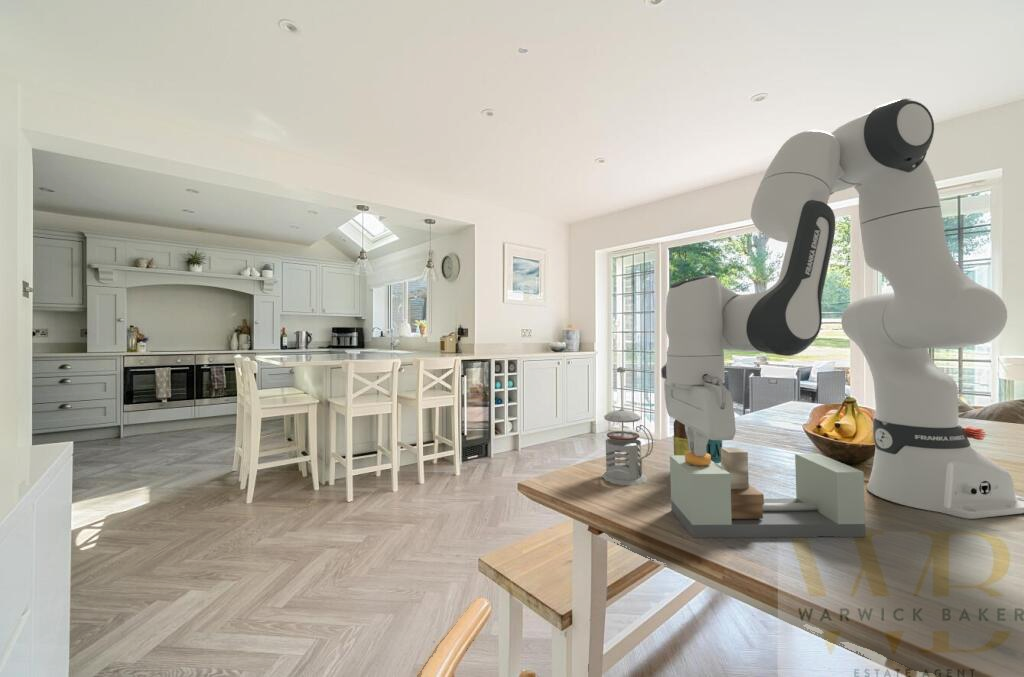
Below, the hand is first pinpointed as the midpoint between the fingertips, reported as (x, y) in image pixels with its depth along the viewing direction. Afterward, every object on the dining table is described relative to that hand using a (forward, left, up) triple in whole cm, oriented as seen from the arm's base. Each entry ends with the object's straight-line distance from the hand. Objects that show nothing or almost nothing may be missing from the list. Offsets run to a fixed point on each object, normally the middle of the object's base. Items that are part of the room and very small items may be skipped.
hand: (697, 453), depth 69 cm
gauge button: (0, 0, -6) cm, 6 cm away
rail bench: (-10, 0, -12) cm, 15 cm away
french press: (+7, -22, -12) cm, 26 cm away
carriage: (-6, 0, -9) cm, 11 cm away
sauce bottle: (-5, -17, -12) cm, 21 cm away
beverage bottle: (-14, -30, -12) cm, 35 cm away
